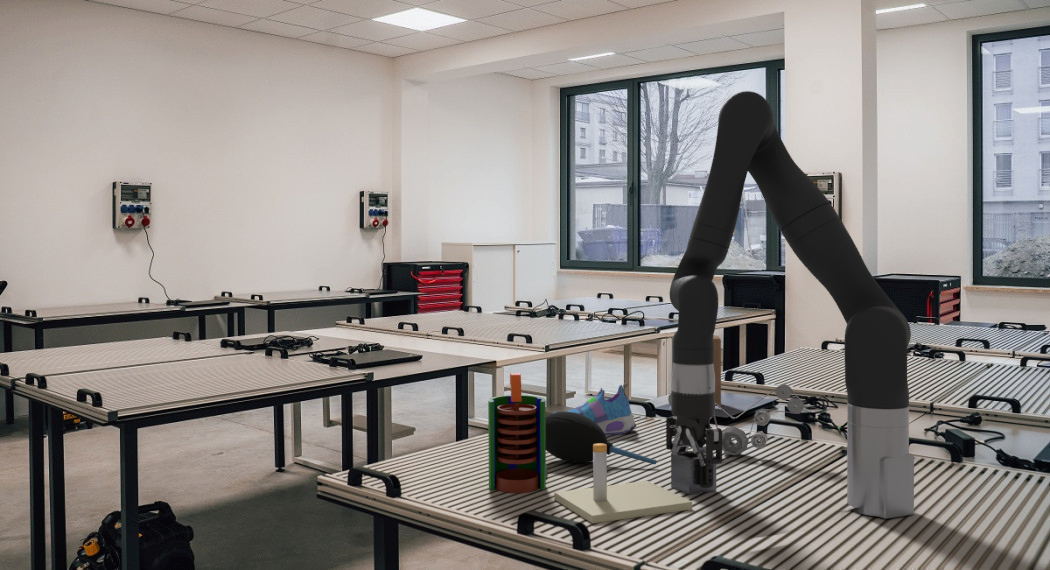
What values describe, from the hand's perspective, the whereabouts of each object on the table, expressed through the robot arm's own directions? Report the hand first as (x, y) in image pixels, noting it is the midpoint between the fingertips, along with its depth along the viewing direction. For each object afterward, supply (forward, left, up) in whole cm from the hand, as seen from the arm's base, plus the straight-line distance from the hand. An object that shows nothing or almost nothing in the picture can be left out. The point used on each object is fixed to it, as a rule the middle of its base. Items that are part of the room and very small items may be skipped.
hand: (693, 481), depth 144 cm
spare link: (+21, +22, -1) cm, 30 cm away
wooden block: (+63, -45, -2) cm, 77 cm away
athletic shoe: (+48, -5, -2) cm, 48 cm away
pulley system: (+18, -22, -1) cm, 28 cm away
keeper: (-3, +16, -1) cm, 16 cm away
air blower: (+23, +7, -2) cm, 25 cm away
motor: (+14, +28, -2) cm, 31 cm away
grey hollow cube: (0, 0, -1) cm, 1 cm away
